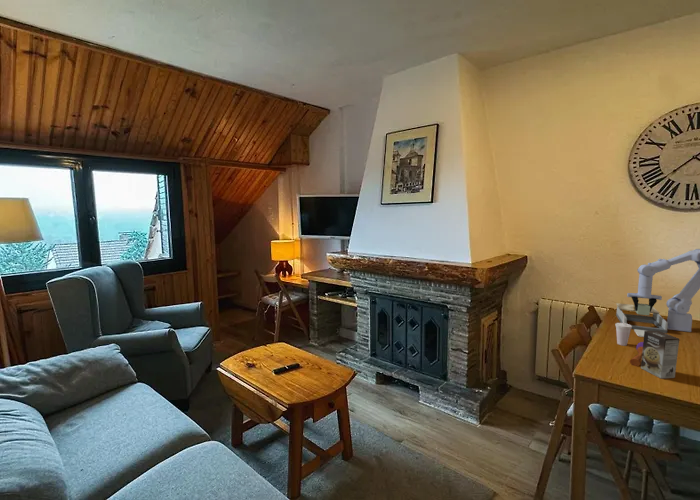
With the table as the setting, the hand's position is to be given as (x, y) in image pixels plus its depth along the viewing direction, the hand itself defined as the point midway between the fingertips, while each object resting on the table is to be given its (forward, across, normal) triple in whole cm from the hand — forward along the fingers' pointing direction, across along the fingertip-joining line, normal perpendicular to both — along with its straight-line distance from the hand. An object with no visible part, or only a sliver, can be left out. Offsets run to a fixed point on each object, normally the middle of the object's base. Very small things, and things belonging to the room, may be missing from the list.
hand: (642, 311), depth 197 cm
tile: (+8, 0, +15) cm, 17 cm away
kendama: (+9, +10, +53) cm, 55 cm away
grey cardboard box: (+9, +6, +66) cm, 67 cm away
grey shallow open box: (+8, 0, -4) cm, 9 cm away
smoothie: (+9, +14, +36) cm, 40 cm away
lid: (+3, 0, -14) cm, 15 cm away
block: (+2, 0, 0) cm, 2 cm away
